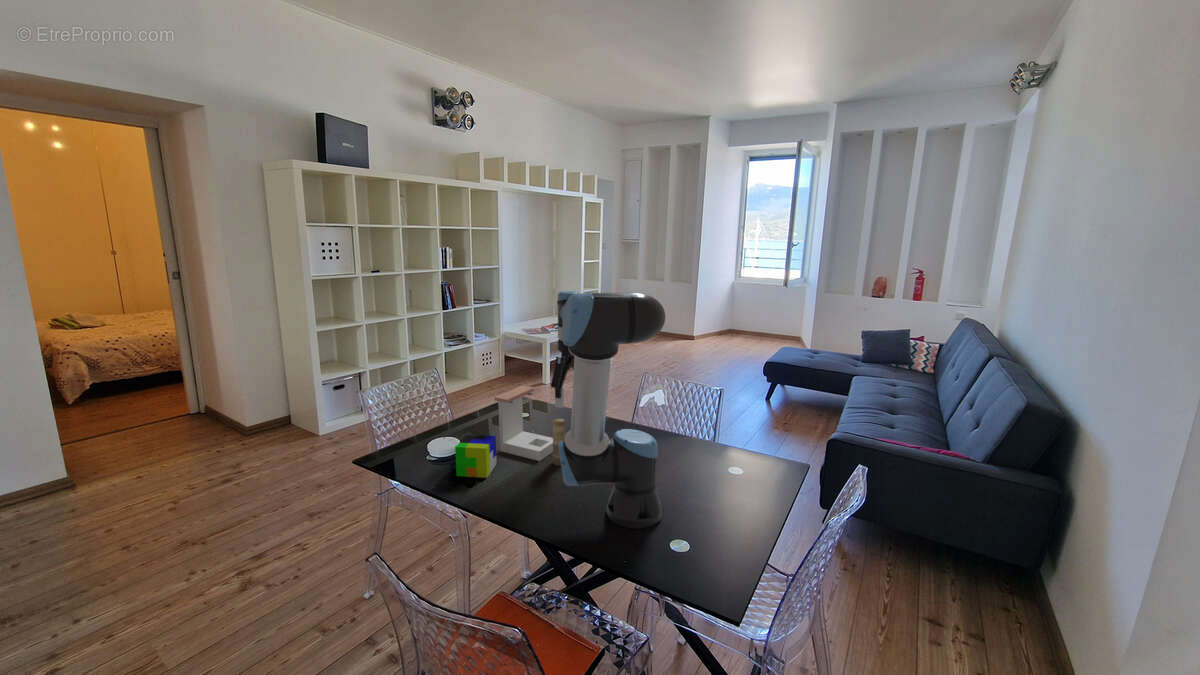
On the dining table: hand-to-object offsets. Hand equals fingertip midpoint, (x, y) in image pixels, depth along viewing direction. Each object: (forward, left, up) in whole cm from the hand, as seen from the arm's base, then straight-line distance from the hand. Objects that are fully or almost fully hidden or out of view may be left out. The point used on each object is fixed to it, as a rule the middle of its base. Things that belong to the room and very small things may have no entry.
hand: (569, 400), depth 164 cm
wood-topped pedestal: (+1, +23, -18) cm, 29 cm away
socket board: (+1, +17, -21) cm, 27 cm away
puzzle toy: (-20, +23, -22) cm, 38 cm away
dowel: (-3, +2, -21) cm, 22 cm away
